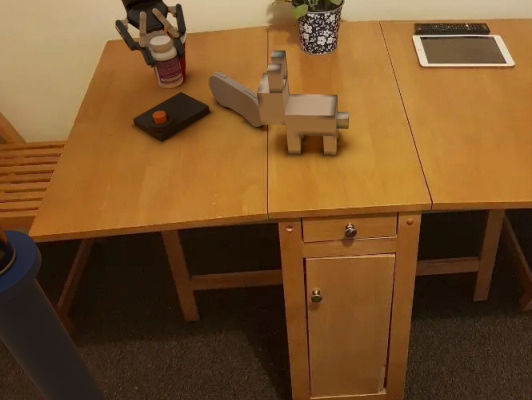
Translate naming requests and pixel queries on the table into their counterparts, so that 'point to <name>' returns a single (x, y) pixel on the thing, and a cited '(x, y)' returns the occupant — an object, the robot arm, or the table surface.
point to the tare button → (159, 117)
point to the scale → (172, 116)
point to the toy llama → (298, 109)
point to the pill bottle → (166, 62)
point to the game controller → (235, 97)
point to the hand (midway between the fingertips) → (167, 61)
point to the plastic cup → (183, 40)
